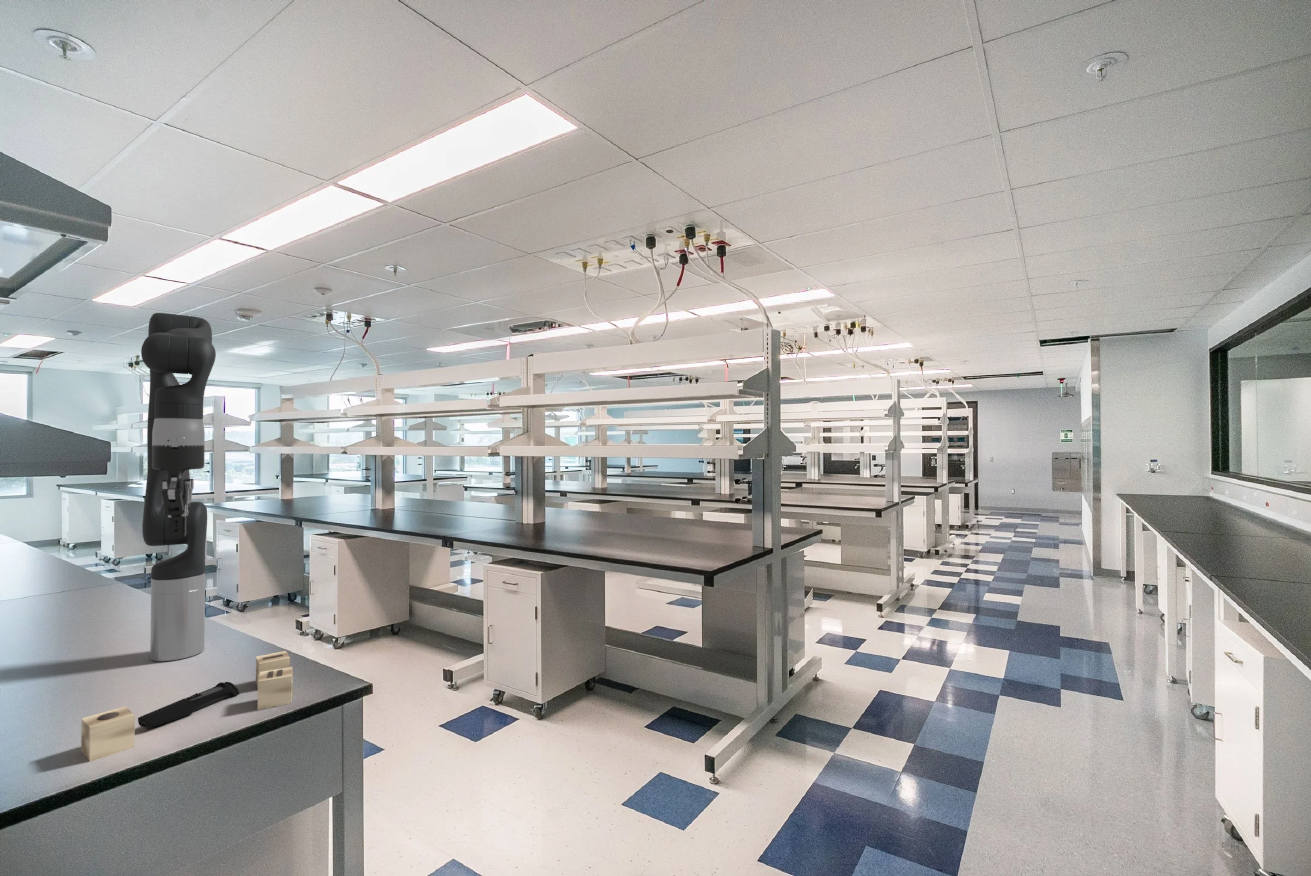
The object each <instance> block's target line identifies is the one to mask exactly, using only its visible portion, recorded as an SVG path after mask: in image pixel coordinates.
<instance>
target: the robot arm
mask: <svg viewBox="0 0 1311 876" xmlns="http://www.w3.org/2000/svg"><path fill="white" fill-rule="evenodd" d="M147 333H148V335H147V337H146V338H145V339H144V341H143V343H142V345H141V349H140V353H141V354H140V355H141V360H142V361H143V364H144V365H145V366H146V368H148V369H149V395H148V396H149V399H148V410H147V411H148V412H147V428H146V433H147V435H146V437H147V439H146V443H147V445H146V447H147V452H146V454H147V469H146V470H147V472H146V473H147V475H146V486H145V494H144V495H145V496H144V503H143V504H144V505H143V515H142V525H141V526H142V528H141V529H142V537H143V541H144V544H146V545H147V546H148V547H149V546H150V547H162V546H177V545H187V547H186V549H185V550H183V551H182V552H181V553H180V554H177V555H175V556H172V557H170V558H168V559H165V560H161V561H159V562H156V563H155V564H153V565H152V566H151V569H150V570H151V571H150V578H151V579H150V645H149V646H150V651H149V654H150V655H149V656H150V657H149V658H150V660H151V661H154V662H166V661H176V660H182V659H186V658H189V657H193V656H196V655H199V654H201V653H202V652H204V650H205V642H206V641H205V640H206V639H205V633H206V629H205V628H206V626H205V625H206V624H205V623H206V613H205V612H206V542H207V529H208V510H207V506H206V505H205V504H204V503H203V502H201V501H192V498H193V497H192V496H193V490H194V485H195V483H194V481H195V480H194V478H191V476H190V475H191V474H190V471H191V470H201V469H203V468H204V467H205V440H206V439H205V438H206V437H205V435H206V434H205V425H204V397H205V390H206V386H207V383H208V380H209V377H210V374H211V372H212V369H213V366H215V365H214V364H215V361H216V356H217V355H216V353H217V352H216V349H215V346H214V345H213V343H212V342H213V330H212V326H211V324H210V323H209V321H207V319H204V318H203V317H200V316H199V317H198V316H192V315H190V316H189V315H184V314H175V313H164V312H154V313H152V315H151V317H150V318H149V322H148V332H147ZM175 374H178V375H179V374H180V375H188V374H189V375H191V377H190V379H189V380H188V381H187V382H185V383H181V384H180V383H179V381H178V380H177V378H176V376H175Z"/></svg>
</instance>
